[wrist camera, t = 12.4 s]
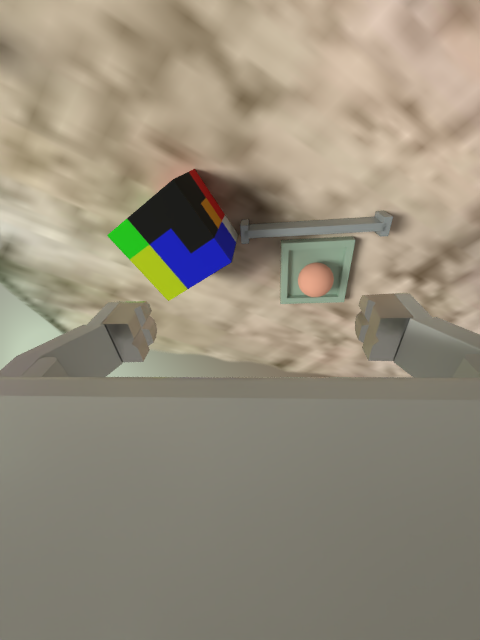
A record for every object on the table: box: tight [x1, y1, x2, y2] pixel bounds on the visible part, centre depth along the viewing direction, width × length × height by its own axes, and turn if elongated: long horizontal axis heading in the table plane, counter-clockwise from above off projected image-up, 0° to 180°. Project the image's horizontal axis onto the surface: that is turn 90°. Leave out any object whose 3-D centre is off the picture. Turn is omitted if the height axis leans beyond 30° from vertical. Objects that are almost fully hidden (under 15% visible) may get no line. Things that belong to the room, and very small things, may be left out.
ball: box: [298, 262, 334, 297], centre depth 37 cm, size 5×5×5 cm
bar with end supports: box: [240, 211, 393, 244], centre depth 35 cm, size 2×19×3 cm, turn 94°
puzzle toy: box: [107, 169, 238, 301], centre depth 33 cm, size 10×10×10 cm
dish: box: [280, 236, 355, 304], centre depth 39 cm, size 10×10×2 cm
